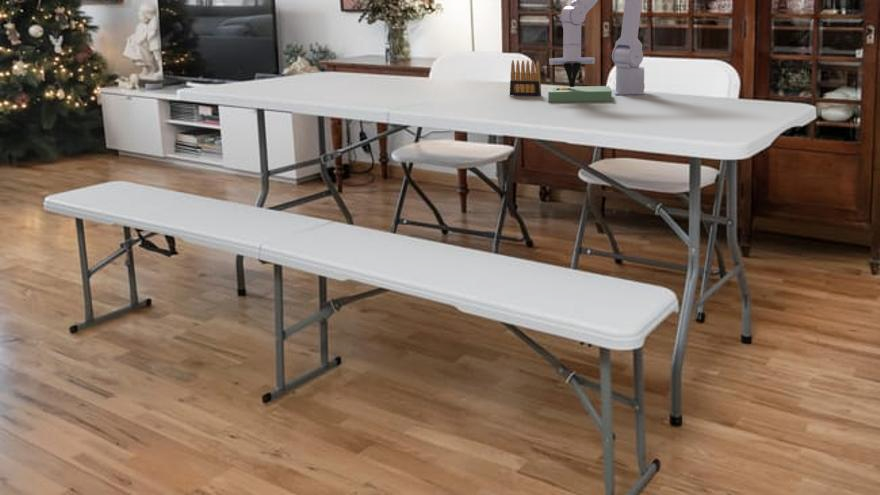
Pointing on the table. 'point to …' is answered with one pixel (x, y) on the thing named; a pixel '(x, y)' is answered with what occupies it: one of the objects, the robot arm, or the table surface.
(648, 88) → the table surface
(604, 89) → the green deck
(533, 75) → the ammunition clip
